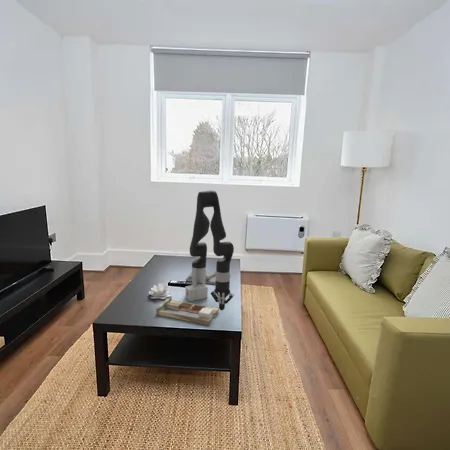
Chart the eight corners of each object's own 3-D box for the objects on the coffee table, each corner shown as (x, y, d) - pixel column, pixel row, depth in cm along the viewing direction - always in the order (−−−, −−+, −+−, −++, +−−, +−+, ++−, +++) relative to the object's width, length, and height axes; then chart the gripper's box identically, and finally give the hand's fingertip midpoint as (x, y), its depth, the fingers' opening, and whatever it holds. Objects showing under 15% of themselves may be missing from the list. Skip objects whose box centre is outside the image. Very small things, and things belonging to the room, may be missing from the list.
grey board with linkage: (230, 276, 242) (230, 267, 241) (225, 286, 221) (226, 277, 220) (192, 272, 247) (192, 264, 245) (184, 282, 226) (184, 273, 225)
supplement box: (184, 297, 201) (203, 293, 207) (189, 301, 195) (207, 298, 201) (185, 286, 200) (203, 283, 206) (189, 290, 193) (208, 287, 199)
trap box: (169, 303, 191) (169, 297, 191) (218, 312, 182) (218, 305, 182) (156, 314, 177) (156, 308, 176) (209, 324, 168) (209, 317, 167)
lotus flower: (176, 296, 202) (176, 283, 200) (158, 304, 190) (158, 290, 189) (161, 290, 211) (161, 277, 209) (143, 297, 199) (143, 284, 198)
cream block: (202, 315, 178) (203, 307, 177) (212, 317, 176) (213, 309, 175) (198, 320, 172) (198, 312, 171) (209, 322, 170) (209, 314, 170)
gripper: (236, 278, 168) (235, 308, 171) (213, 275, 172) (212, 305, 175) (232, 283, 161) (231, 314, 164) (208, 279, 165) (207, 310, 168)
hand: (221, 309), depth 170 cm, fingers closed
